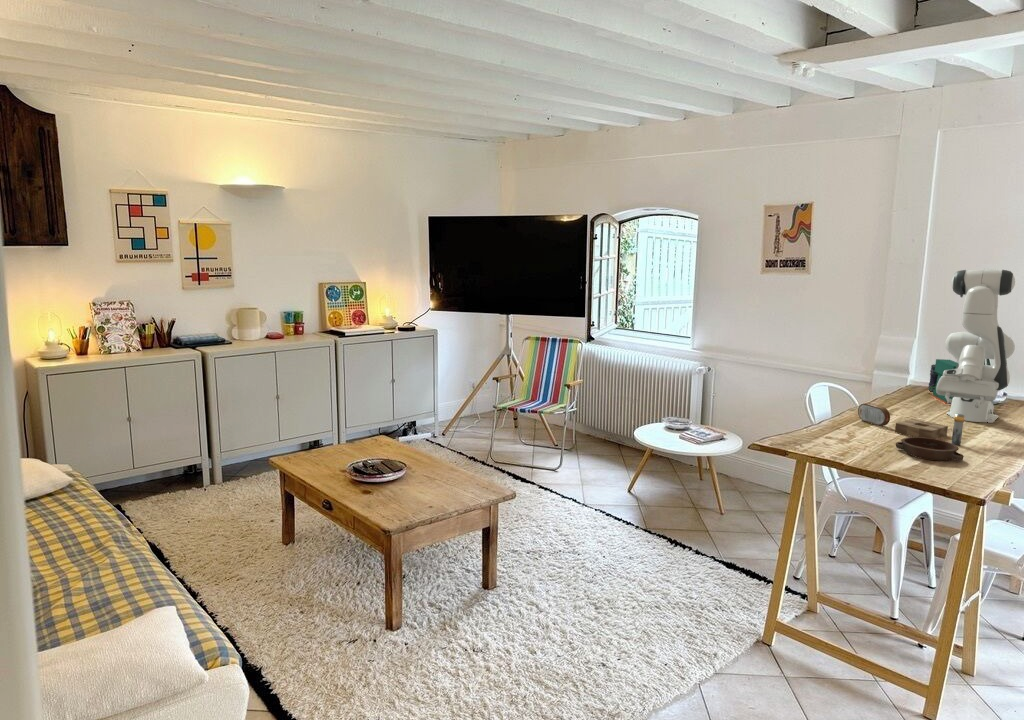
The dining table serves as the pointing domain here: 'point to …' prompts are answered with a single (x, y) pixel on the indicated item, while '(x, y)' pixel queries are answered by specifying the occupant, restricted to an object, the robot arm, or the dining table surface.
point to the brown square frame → (921, 429)
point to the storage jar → (932, 378)
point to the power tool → (940, 368)
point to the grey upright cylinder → (957, 429)
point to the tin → (874, 414)
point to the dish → (929, 448)
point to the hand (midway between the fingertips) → (962, 405)
